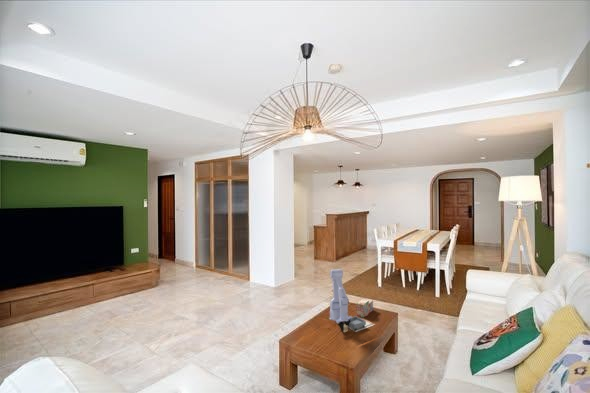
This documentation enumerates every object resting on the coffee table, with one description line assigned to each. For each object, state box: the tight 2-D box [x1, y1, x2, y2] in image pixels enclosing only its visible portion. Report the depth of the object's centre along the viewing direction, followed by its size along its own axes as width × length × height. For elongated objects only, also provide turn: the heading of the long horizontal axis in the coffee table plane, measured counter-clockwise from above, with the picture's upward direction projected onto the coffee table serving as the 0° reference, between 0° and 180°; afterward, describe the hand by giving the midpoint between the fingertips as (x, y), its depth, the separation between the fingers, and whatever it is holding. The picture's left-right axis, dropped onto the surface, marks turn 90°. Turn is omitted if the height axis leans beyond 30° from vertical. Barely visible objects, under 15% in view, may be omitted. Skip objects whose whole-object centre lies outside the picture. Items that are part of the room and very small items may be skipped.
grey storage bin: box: [349, 315, 366, 330], centre depth 227 cm, size 11×12×5 cm
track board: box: [348, 318, 376, 333], centre depth 230 cm, size 13×22×1 cm, turn 122°
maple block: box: [341, 323, 349, 333], centre depth 221 cm, size 4×4×5 cm
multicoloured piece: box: [356, 298, 374, 318], centre depth 254 cm, size 21×6×12 cm, turn 143°
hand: (344, 330), depth 221 cm, fingers closed on maple block, 4 cm apart
